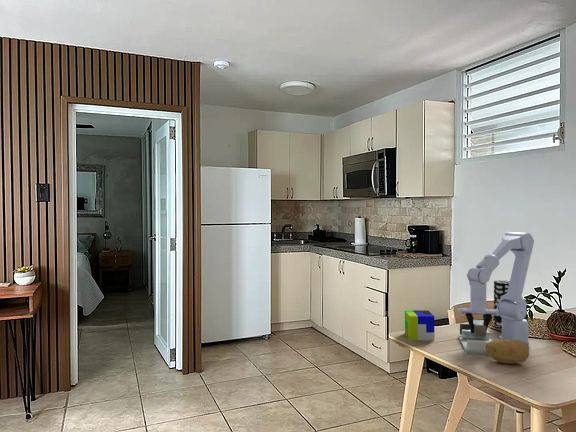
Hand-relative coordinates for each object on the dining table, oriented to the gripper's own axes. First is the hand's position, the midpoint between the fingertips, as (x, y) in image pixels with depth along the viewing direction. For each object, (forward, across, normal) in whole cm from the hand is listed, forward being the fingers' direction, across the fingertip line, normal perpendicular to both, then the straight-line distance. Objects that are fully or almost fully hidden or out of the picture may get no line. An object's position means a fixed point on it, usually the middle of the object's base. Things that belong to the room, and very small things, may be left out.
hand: (478, 332), depth 175 cm
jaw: (+5, 0, +9) cm, 11 cm away
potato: (+6, +6, -17) cm, 19 cm away
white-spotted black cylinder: (+6, +16, +33) cm, 37 cm away
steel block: (+2, 0, 0) cm, 2 cm away
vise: (+5, 0, 0) cm, 5 cm away
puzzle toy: (+6, -22, +9) cm, 24 cm away
